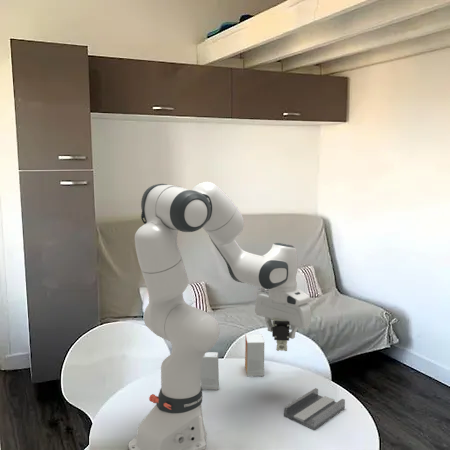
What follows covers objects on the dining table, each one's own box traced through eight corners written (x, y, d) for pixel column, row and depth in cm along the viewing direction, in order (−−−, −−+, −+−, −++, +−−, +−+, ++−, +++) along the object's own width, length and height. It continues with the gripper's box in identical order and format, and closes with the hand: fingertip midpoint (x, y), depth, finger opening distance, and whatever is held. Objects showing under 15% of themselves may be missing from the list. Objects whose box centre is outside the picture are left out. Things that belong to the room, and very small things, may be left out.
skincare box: (218, 384, 176) (219, 351, 174) (218, 390, 172) (218, 356, 170) (201, 384, 176) (201, 351, 175) (200, 390, 172) (199, 356, 170)
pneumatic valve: (289, 342, 171) (289, 308, 169) (289, 356, 160) (289, 319, 158) (272, 342, 172) (272, 307, 170) (271, 355, 160) (271, 319, 158)
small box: (244, 366, 190) (245, 333, 188) (261, 366, 190) (262, 333, 188) (246, 376, 182) (247, 342, 180) (264, 376, 182) (264, 342, 180)
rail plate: (314, 430, 149) (314, 420, 148) (283, 416, 156) (284, 407, 156) (344, 408, 161) (345, 399, 160) (315, 396, 168) (315, 388, 168)
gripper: (251, 288, 167) (250, 328, 170) (302, 302, 154) (300, 345, 156) (263, 284, 172) (262, 324, 174) (314, 297, 158) (312, 340, 160)
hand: (281, 334), depth 165 cm, fingers closed on pneumatic valve, 7 cm apart
